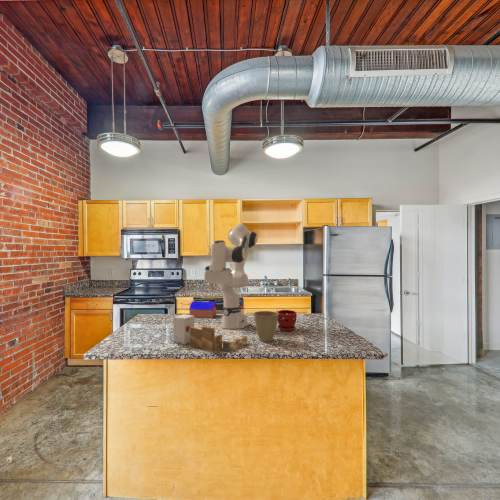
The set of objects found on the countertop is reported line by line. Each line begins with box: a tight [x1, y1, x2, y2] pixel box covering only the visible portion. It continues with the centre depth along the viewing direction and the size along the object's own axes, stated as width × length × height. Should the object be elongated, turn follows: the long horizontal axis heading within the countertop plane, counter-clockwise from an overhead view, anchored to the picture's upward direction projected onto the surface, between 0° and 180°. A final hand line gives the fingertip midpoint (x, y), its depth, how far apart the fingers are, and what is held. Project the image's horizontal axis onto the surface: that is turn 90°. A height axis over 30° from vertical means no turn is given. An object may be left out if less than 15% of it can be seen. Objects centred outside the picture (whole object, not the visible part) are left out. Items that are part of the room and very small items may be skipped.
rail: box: [222, 335, 248, 352], centre depth 163 cm, size 17×3×5 cm, turn 143°
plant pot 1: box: [253, 310, 279, 343], centre depth 175 cm, size 15×15×16 cm
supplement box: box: [172, 313, 195, 345], centre depth 173 cm, size 9×9×15 cm
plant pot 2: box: [277, 309, 298, 332], centre depth 199 cm, size 13×13×12 cm
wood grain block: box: [189, 325, 223, 352], centre depth 164 cm, size 8×17×12 cm, turn 53°
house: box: [188, 301, 218, 319], centre depth 241 cm, size 12×20×12 cm, turn 81°
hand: (218, 291), depth 172 cm, fingers open, 8 cm apart
